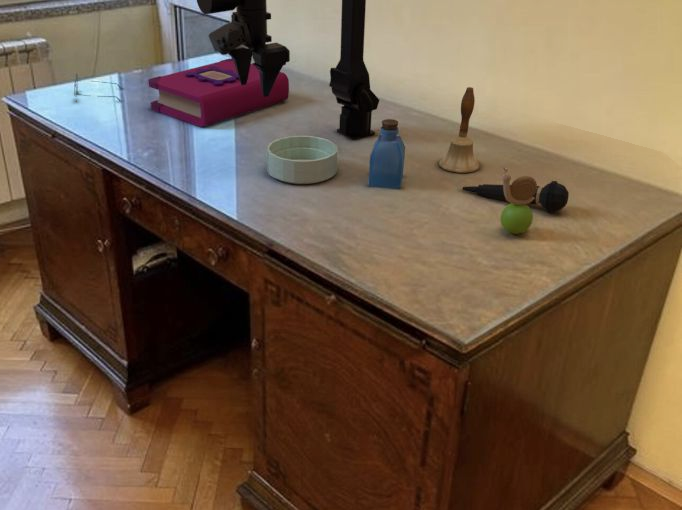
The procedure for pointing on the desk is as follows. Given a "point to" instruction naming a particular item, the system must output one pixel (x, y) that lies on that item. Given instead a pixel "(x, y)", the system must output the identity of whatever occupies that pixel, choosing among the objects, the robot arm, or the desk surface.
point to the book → (214, 93)
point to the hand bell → (462, 141)
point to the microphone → (548, 196)
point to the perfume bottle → (387, 157)
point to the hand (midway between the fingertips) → (254, 90)
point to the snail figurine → (518, 203)
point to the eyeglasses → (93, 81)
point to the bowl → (302, 159)
